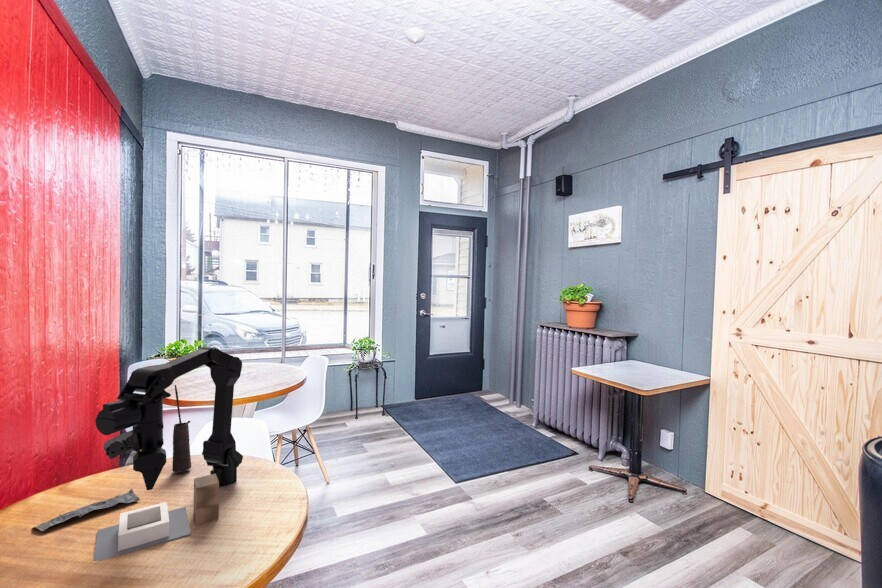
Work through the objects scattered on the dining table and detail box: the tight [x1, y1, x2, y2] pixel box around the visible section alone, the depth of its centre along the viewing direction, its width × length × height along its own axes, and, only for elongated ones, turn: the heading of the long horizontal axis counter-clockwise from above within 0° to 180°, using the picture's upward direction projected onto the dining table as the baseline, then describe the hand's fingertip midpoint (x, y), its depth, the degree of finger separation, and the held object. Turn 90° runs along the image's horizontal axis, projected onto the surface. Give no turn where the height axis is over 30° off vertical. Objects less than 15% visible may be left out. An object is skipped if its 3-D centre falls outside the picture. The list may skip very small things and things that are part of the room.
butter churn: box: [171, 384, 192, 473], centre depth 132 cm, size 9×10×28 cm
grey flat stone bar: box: [33, 488, 140, 532], centre depth 105 cm, size 21×7×2 cm, turn 144°
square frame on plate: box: [92, 501, 192, 562], centre depth 97 cm, size 18×14×4 cm
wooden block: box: [193, 473, 220, 526], centre depth 105 cm, size 5×6×10 cm
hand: (149, 481), depth 99 cm, fingers open, 9 cm apart
